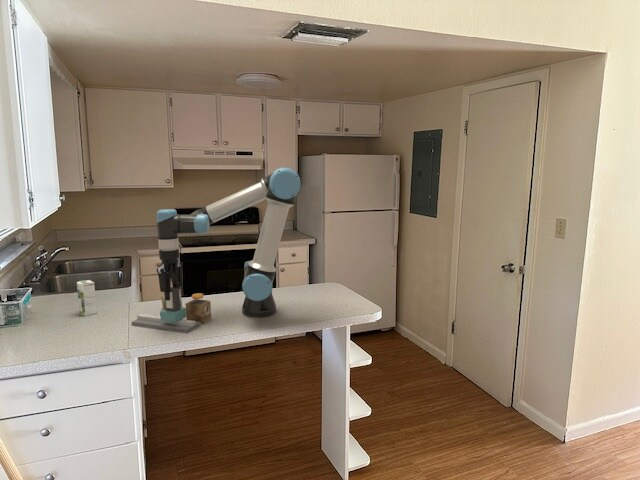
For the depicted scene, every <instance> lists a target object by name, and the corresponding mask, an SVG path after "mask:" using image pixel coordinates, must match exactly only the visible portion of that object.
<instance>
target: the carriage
mask: <svg viewBox="0 0 640 480" xmlns="http://www.w3.org/2000/svg"><path fill="white" fill-rule="evenodd" d="M170 292H172V298H173V308H166V300H165V310H163V309H162V310H160V311H159V313H160V314H159V316H160V318H161V321H168V322H177V321H179V320H181V319H186V307H182V308H181V307H180V295H181V292H180V289H179V288H176V287H173V286H171V291H170ZM179 292H180V293H179ZM163 295H164V298H165V293H164V292H163Z"/></svg>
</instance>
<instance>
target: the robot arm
mask: <svg viewBox="0 0 640 480" xmlns="http://www.w3.org/2000/svg"><path fill="white" fill-rule="evenodd" d="M301 185H302V184H301V178H300V176H299V174H298V172H296V171H295V170H294V169H292V168H290V167H279V168H277V169H275V170H274V171H273V172H272V173H270V174H268V175H267V176H265V177H262V178H261V180H260V182H257V183H254V184H253V185H250V186H247V187H245V188H243V189H241V190H240V191H237V192H235V193H233V194H231V195H228V196H226V197H224V198H222V199H219V200H217V201H215V202H213V203H211V204H209V205H206V206H204V207H202V208H199V209H196V210H194V211H193V212H192V213H190V214H179V213H177V210H176V209H172V208H171V209H169V208H168V209H167V208H166V209H165V208H164V209H160V210H158V211H157V212H156V229H157V239H158V249H159V250H158V255H159V256H158V258H159V260H160V261H161V263H160V266H159V268H158V267H157V268H156V273H157V276H158V283H159V284H158V285H159V291H160V293H163V294H164V293H165V300H166V308H173V298H172V292H170V291H171V287H176V288H179V290H181V289H182V286H183V265H184V262H183V261H179V258H180V249H179V247H180V244H179V235H182V234H189V235H190V234H197V235H200V234H206V233H208V232H209V231H210V226H211V225H212V224H214V223H216V222H218V221H220V220H223V219H225V218H228V217H229V216H232V215H234V214H236V213H238V212H240V211H242V210H245V209H248V208H250V207H252V206H254V205H256V204H258V203H261V202H263V201H265V200H266V202H267V205H266V210H265V213H264V217H263V221H262V224H261V229H260V232H259V235H258V236H259V237H258V240H257V243H256V247H255V251H254V255H253V259H252V260H248V261H245V262H244V265H243V266H244V267H243V268H244V277H243V280H242V284H241V289H242V292H243V294H244V296H245V297H244V300H243V303H242V306H241V313H242V315H243V316H246V317H250V318H252V317H253V318H263V317H269V316H272V315H275V314H276V313H277V310H278V309H277V304H276V301H275V298H274V295H273V283H274V280H275V275H276V272H277V269H276V267H275V261H276V258H277V253H278V250H279V248H280V243H281V240H282V235H283V233H284V229H285V224H286V223H287V222H286V221H287V217H288V213H289V211H290V208H292V207H294V206H295V203H296V199H297V196H298V193H299V191H300V189H301Z"/></svg>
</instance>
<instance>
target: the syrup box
mask: <svg viewBox="0 0 640 480" xmlns="http://www.w3.org/2000/svg"><path fill="white" fill-rule="evenodd" d="M76 289H77V303H78V304H77V305H78V312H79V314H80V315H81V316H83V317H87V316H92V315H94V314H95V315H96V314H97V313H98V311H97V300H96V289H95V282H94V281H92V280H91V279H88V280H87V279H86V280H79V281H77V282H76Z"/></svg>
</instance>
